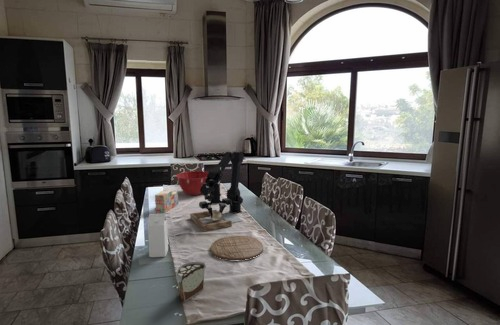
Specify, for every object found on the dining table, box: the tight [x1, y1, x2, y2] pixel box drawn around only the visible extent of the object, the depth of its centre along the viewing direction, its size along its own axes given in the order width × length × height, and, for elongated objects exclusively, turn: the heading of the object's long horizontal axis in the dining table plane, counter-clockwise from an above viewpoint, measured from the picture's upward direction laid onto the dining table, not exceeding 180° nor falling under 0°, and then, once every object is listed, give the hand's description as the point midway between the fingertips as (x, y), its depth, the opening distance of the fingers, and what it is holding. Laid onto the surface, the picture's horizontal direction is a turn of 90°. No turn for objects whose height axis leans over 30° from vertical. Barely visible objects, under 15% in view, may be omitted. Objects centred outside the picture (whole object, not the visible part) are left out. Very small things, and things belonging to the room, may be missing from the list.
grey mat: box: [221, 213, 244, 224], centre depth 191 cm, size 9×15×1 cm, turn 27°
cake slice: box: [175, 261, 206, 303], centre depth 111 cm, size 12×6×10 cm, turn 145°
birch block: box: [209, 210, 222, 222], centre depth 186 cm, size 5×5×4 cm
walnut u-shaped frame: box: [189, 209, 233, 232], centre depth 184 cm, size 17×24×3 cm
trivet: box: [210, 235, 264, 261], centre depth 148 cm, size 25×25×2 cm
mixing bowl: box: [175, 170, 209, 196], centre depth 250 cm, size 28×28×16 cm
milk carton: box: [147, 213, 169, 258], centre depth 141 cm, size 7×7×19 cm
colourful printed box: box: [154, 189, 179, 214], centre depth 211 cm, size 21×6×12 cm, turn 169°
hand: (215, 217), depth 186 cm, fingers closed on birch block, 5 cm apart
